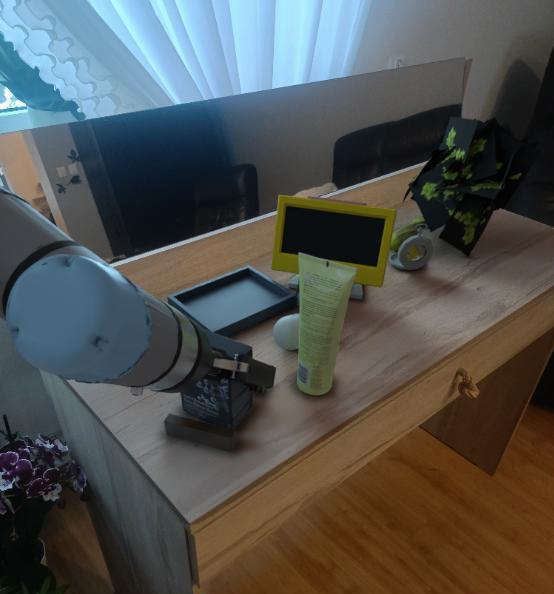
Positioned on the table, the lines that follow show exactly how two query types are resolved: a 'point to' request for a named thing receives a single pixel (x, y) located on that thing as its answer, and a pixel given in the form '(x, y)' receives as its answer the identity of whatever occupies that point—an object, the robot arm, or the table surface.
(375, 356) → the table surface
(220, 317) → the tray
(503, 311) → the table surface
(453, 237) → the potted plant
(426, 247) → the pocket watch
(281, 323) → the figurine
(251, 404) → the box
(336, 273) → the tube
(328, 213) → the toy computer monitor
